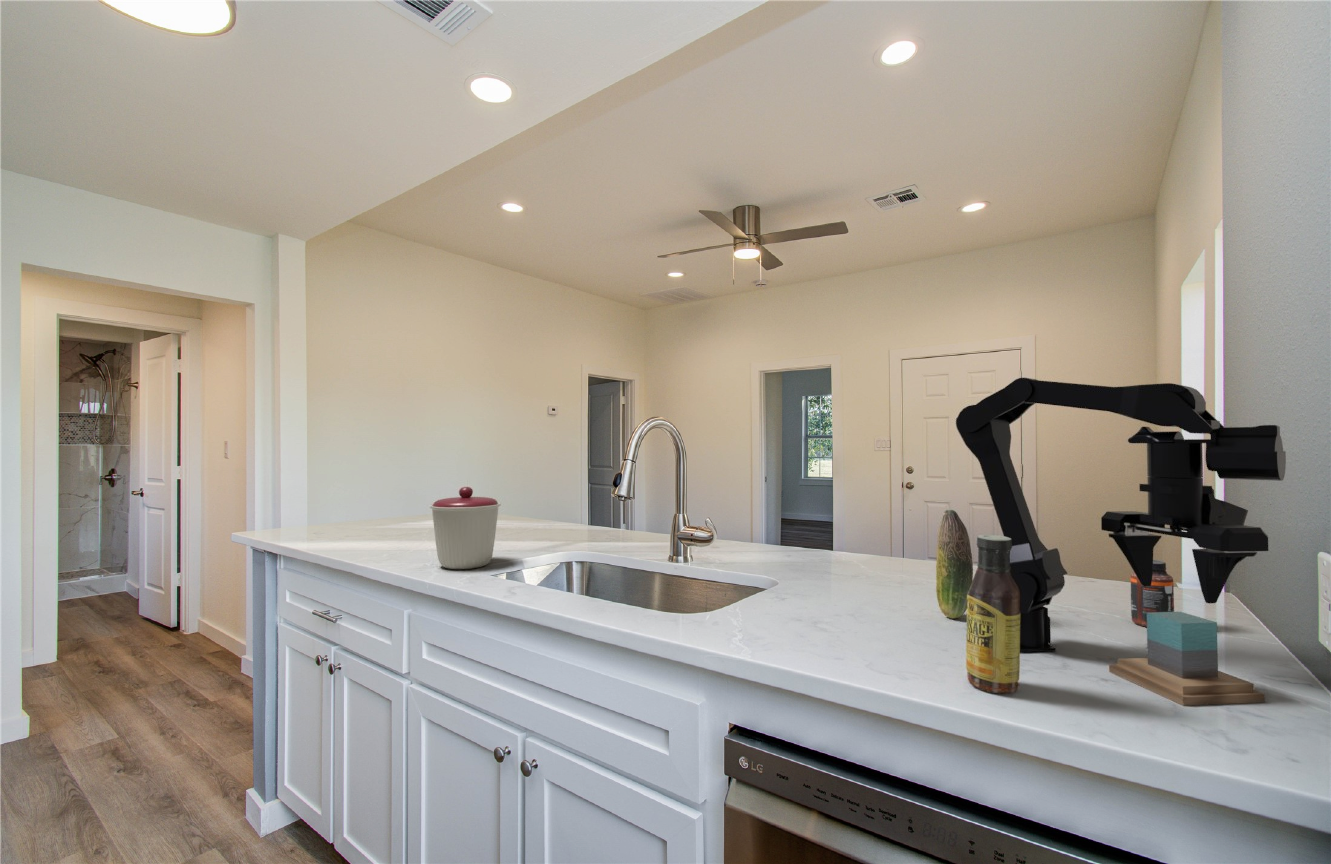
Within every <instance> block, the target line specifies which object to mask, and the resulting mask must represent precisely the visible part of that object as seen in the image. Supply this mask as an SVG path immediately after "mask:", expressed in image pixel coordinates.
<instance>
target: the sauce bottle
mask: <svg viewBox="0 0 1331 864" xmlns="http://www.w3.org/2000/svg"><path fill="white" fill-rule="evenodd" d="M976 547H977V552H978V553H977V554H978V555H977V569H976V571H975V573H974V574H973V580H972V583H971V586H970V588H969V591H968V594H967V610H966V635H965V636H966V643H965V644H966V646H965V647H966V649H965V651H966V653H965V654H966V655H965V660H966V661H965V668H966V671H967V673H966V677H967V681H968V683H969V684H970V685H972V686H973V687H974V688H978V689H980V690H982V691H984V692H987V693H992V694H1011V693H1012V694H1013V693H1015V692H1016V691H1018V690H1019V686H1020V684H1019V681H1020V661H1021V660H1020V659H1021V656H1020V655H1021V652H1020V611H1019V607H1020V604H1019V602H1020V593H1019V589H1018V587H1017V585H1016V583H1015V582H1014V580H1013V579H1012V576H1011V573H1010V569H1011V567H1010V550H1011V549H1012V539H1011V538H1009V537H1005V536H1004V535H998V534H980V535H978V536H977V537H976Z"/></svg>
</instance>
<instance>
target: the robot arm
mask: <svg viewBox="0 0 1331 864" xmlns="http://www.w3.org/2000/svg"><path fill="white" fill-rule="evenodd" d="M1206 403H1207V402H1206V400H1205V398H1204V396H1203V394H1201V393H1200V391H1199V390H1197V389H1196V388H1194V387H1191V386H1187V385H1184V384H1183V385H1182V384H1177V383H1171V382H1168V383H1167V382H1166V383H1151V384H1149V383H1147V384H1137V385H1135V384H1133V385H1127V386H1126V385H1124V386H1107V385H1097V384H1094V385H1093V384H1085V383H1073V382H1072V383H1070V382H1062V381H1061V382H1059V381H1050V380H1049V381H1047V380H1038V379H1036V378H1029V377H1019V378H1016V379H1014V380H1013V381H1011V382H1010V383H1009V384H1008V385H1006V386H1005V387H1003V388H1002V389H1000V390H998V391H996V392H994V393H992V394H990V395H989V396H986V397H985V398H983V399H981V400H980V401H979V402H977V403H976V404H971V405H968V406H965V407H964V408H962V410H960V412H959V414H958V415H957V417H956V419H955V426H956V430H957V431H958V434H959V435H960V437H961V439H962V441H963V443H964V444H965V446H966V447H967V448H968V450H969V452H970V453H972V455H973V456H974V457H975V458H976V460H978V463H979V466H980V468H981V471H982V474H983V475H982V476H983V477H984V480H985V483H986V487H987V489H988V492H989V496H990V499H991V501H992V505H993V507H994V510H995V514H996V516H997V519H998V522H999V523H998V524H999V526H1000V528H1001V531H1002V534H1003V535H1002V536H1005V537H1009V538H1011V539H1012V549H1011V550H1010V567H1011V569H1010V573H1011V576H1012V579H1013V580H1014V582H1015V583H1016V585H1017V587H1018V589H1019V593H1020V602H1019V604H1020V607H1019V611H1020V653H1021V652H1022V653H1025V652H1027V653H1028V652H1050V651H1051V652H1053V651H1054V652H1056V651H1057V647H1056V646H1054V645H1052V644H1051V643H1052V640H1051V637H1052V636H1051V633H1052V632H1051V617H1050V616H1049V608H1048V607H1046V606H1049V605H1050V604H1051V602H1052V599H1053V598H1054V597H1055V596H1057V595H1059V593H1061V592H1062V590H1063V589H1064V587H1065V583H1066V579H1065V575H1068V571H1067V570H1066V569H1065V568H1064V566H1063V564H1062V560H1061V553H1060V551H1059V549H1058V548H1057V547H1054V548H1051V549H1048V548H1047V547H1046V546H1045V544H1044V543H1043V542H1042V541H1041V540H1040V537H1039V535H1038V533H1037V532H1038V531H1037V529H1036V528H1035V524H1034V520H1033V518H1032V516H1031V513H1030V509H1029V507H1028V504H1027V500H1026V497H1025V495H1024V492H1023V489H1022V486H1021V484H1020V480H1019V478H1018V475H1017V472H1016V469H1015V467H1014V464H1013V460H1012V458H1011V454H1010V452H1011V445H1012V444H1011V443H1012V433H1011V432H1012V431H1011V426H1010V425H1011V424H1013V423H1014V422H1016V421H1017V420H1019V419H1020V418H1021V417H1022V416H1023V415H1024V414H1025V413H1026V412H1027V411H1028V410H1029V409H1030V408H1031V407H1033V406H1034V405H1035V404H1040V405H1050V406H1058V407H1066V408H1068V407H1069V408H1075V409H1083V410H1084V409H1086V410H1093V411H1099V412H1110V413H1113V414H1117V415H1121V416H1124V417H1127V418H1131V419H1134V420H1136V421H1140V422H1144V423H1147V424H1148V423H1149V424H1151V425H1156V426H1159V427H1168V428H1169V427H1172V428H1179V429H1181V430H1183V431H1185V432H1187V433H1189V434H1198V435H1199V434H1202V435H1210V438H1209V439H1208V438H1207V439H1205V438H1204V439H1202V438H1201V439H1200V438H1198V439H1195V438H1194V439H1193V438H1191V439H1190V438H1189V439H1188V438H1186V439H1185V438H1184V436H1183V434H1182V432H1181V431H1154V430H1153V429H1152V428H1151V427H1150V426H1141V427H1140V428H1139V430H1138V431H1137V432H1136V433H1135V434H1133V435H1132V436H1130V437H1129V438H1128V439H1127V442H1128V443H1129V444H1146V467H1147V470H1146V471H1147V478H1146V479H1147V483H1139V485H1138V486H1139V492H1145V493H1146V492H1147V512H1143V511H1134V510H1133V511H1132V510H1129V511H1128V510H1127V511H1123V510H1122V511H1120V510H1119V511H1106V512H1105V513H1104V514H1103V515H1102V516H1101V519H1100V520H1101V521H1100V522H1101V523H1100V524H1101V526H1100V527H1101V531H1106V532H1109V533H1107V534H1108V538H1111V539H1112V540H1114V542H1115V544H1116V546H1117V547H1118V548H1119V549H1120V551H1121V553H1122V554H1123V556H1124V557H1125V558H1126V560H1127V562H1128V564H1129V565H1130V567H1131V569H1132V570H1133V571H1132V572H1135V574H1136V576H1137V578H1138V579H1139V581H1140V583H1141V584H1142V585H1143V586H1151V583H1152V576H1153V560H1154V550H1155V549H1154V548H1155V546H1156V545H1157V543H1158V542H1159V541H1160V540H1161V538H1162V535H1166V536H1173V537H1178V538H1184V539H1190V540H1193V542H1194V543H1195V544H1196V545H1197V546H1198V547H1199V548H1192V549H1191V551H1192V555H1193V561H1194V564H1195V569H1196V573H1197V576H1198V581H1199V585H1200V590H1201V593H1202V596H1203V599H1204V602H1205V603H1206V604H1209V605H1210V604H1216V603H1217V602H1218V600H1219V597H1220V596H1221V594H1222V591H1223V589H1224V587H1225V585H1226V583H1227V581H1228V579H1229V577H1230V575H1231V574H1232V571H1233V570H1234V569H1235V567H1236V566H1237V564H1239V563H1240V562H1241V561H1243V560H1245V559H1246V558H1249V557H1255V556H1257V554H1258V552H1269V536H1268V534H1267V533H1266V532H1265V530H1263V528H1262V527H1260V526H1253V525H1245V522H1246V520H1247V519H1246V518H1247V516H1248V513H1249V510H1248V509H1246V508H1244V507H1241V506H1238V505H1237V504H1236V505H1235V504H1232V503H1230V502H1227V501H1226V500H1221V499H1219V498H1216V497H1215V490H1214V488H1213V486H1212V485H1204V461H1203V460H1204V458H1203V455H1204V454H1203V453H1204V452H1203V444H1205V465H1206V468H1207V470H1208V471H1211V472H1216V474H1217V476H1218V478H1219V479H1222V480H1249V481H1250V480H1251V481H1280V482H1282V481H1284V478H1285V476H1286V467H1287V461H1286V460H1287V455H1286V451H1285V450H1284V446H1283V440H1282V436H1281V427H1280V426H1279V425H1277V424H1263V425H1257V426H1244V427H1243V426H1239V427H1238V426H1235V427H1234V426H1233V427H1232V426H1231V427H1230V426H1229V427H1225V426H1224V425H1223V424H1222V423H1221V422H1220V420H1218V419H1216V418H1215V417H1214V415H1212V414H1211V413H1210V412H1209V411H1208V410H1207V408H1206V407H1207V404H1206ZM1166 526H1169V527H1166ZM1110 532H1111V533H1110ZM1153 533H1154V534H1153ZM1158 534H1159V535H1158Z"/></svg>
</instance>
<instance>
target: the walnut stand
mask: <svg viewBox="0 0 1331 864" xmlns="http://www.w3.org/2000/svg"><path fill="white" fill-rule="evenodd" d="M1108 672H1110V673H1111V674H1113V675H1115V676H1118V677H1120V678H1123V679H1125V680H1126V681H1129V682H1131V683H1133V684H1136V685H1138V686H1140V687H1142V688H1144V689H1146V690H1149V691H1150V692H1153V693H1155V694H1157V695H1159V696H1161V697H1164V698H1166V699H1168V700H1170V701H1172V702H1175V703H1177V704H1179V705H1181V706H1205V705H1223V704H1225V705H1226V704H1227V705H1228V704H1246V703H1247V704H1248V703H1249V704H1250V703H1251V704H1252V703H1265V702H1266V693H1263V692H1261V691H1259V690H1255V688H1254V683H1253V682H1250V681H1247V680H1245V679H1242V678H1239V677H1237V676H1234V675H1231V674H1228V673H1226V672H1223V671H1220V670H1218V677H1208V678H1183V679H1182V678H1180V677H1178V676H1175V675H1173V674H1170V673H1168V672H1165V671H1163V670H1160V669H1158V668H1156V667H1153V666H1151V665H1148V657H1136V658H1135V657H1133V658H1117V663H1115V664H1112V663H1111V664H1109V666H1108Z"/></svg>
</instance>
